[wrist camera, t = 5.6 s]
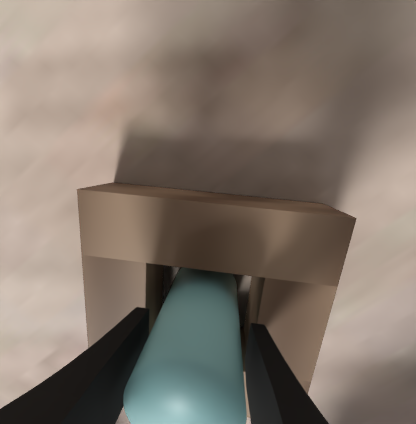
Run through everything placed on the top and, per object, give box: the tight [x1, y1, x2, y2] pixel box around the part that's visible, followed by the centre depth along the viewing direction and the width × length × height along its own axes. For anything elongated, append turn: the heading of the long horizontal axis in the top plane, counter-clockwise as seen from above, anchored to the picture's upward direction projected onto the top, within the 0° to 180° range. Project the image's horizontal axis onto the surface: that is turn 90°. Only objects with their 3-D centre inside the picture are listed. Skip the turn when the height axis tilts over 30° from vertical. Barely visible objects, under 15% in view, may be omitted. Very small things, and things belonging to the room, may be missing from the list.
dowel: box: [123, 267, 247, 424], centre depth 10 cm, size 4×4×7 cm
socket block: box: [77, 183, 356, 418], centre depth 12 cm, size 12×12×3 cm
